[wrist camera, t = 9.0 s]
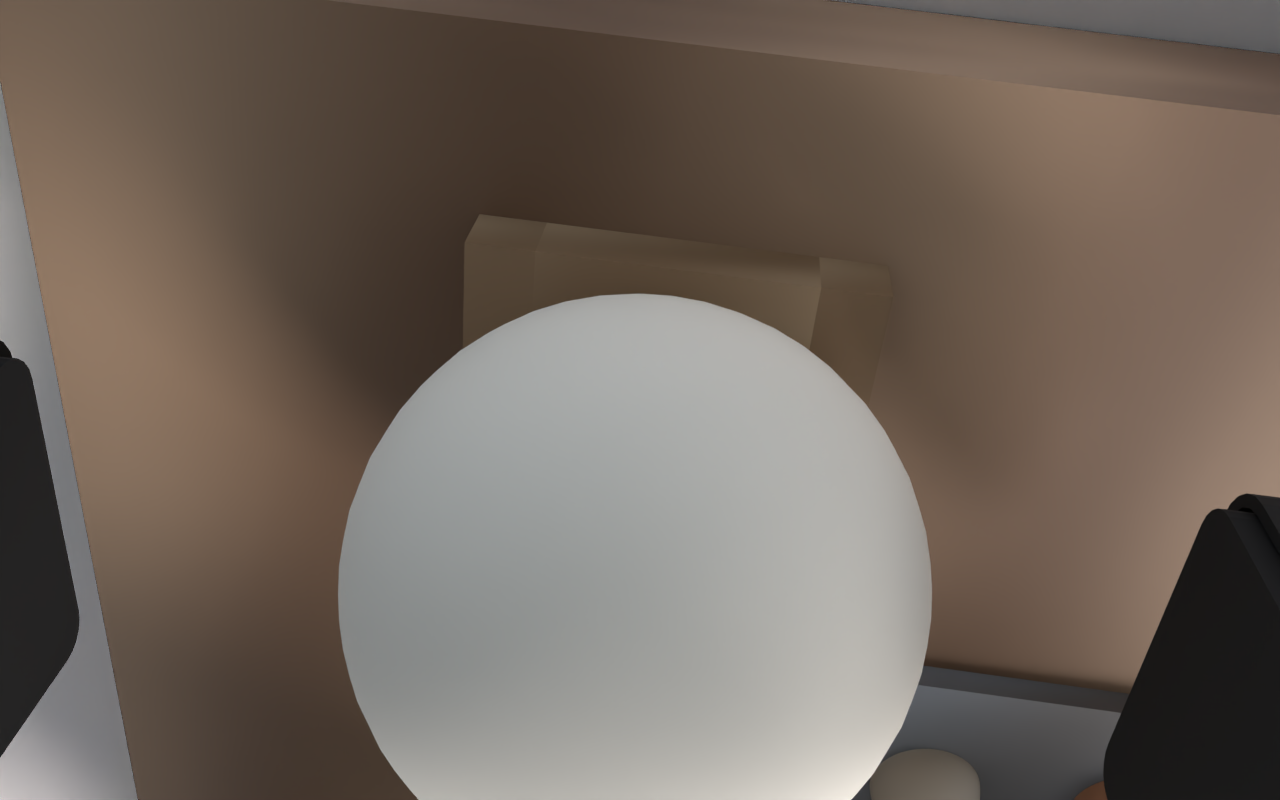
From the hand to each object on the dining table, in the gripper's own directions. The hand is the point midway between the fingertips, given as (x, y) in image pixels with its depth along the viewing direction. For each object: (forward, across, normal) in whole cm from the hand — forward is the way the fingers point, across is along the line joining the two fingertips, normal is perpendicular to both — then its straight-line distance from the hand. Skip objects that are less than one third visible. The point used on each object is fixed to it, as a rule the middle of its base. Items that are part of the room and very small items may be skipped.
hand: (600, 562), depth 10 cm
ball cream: (0, 0, 0) cm, 1 cm away
